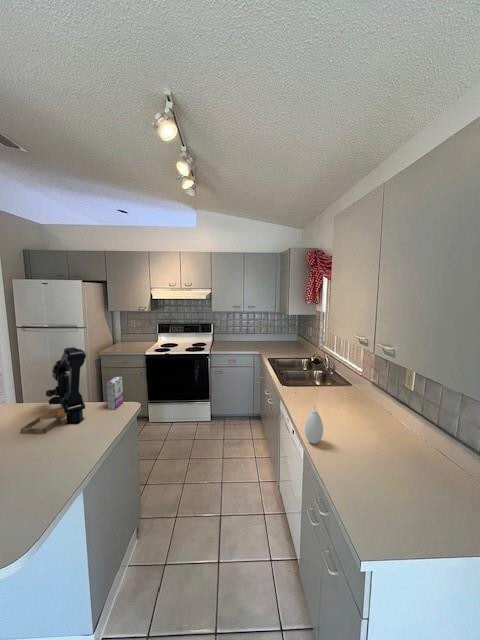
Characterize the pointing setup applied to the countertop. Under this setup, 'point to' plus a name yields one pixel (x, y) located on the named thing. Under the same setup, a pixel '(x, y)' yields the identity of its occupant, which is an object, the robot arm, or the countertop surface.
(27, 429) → the wooden bracket
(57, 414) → the pastry
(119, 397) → the candy bar box
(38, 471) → the countertop surface
